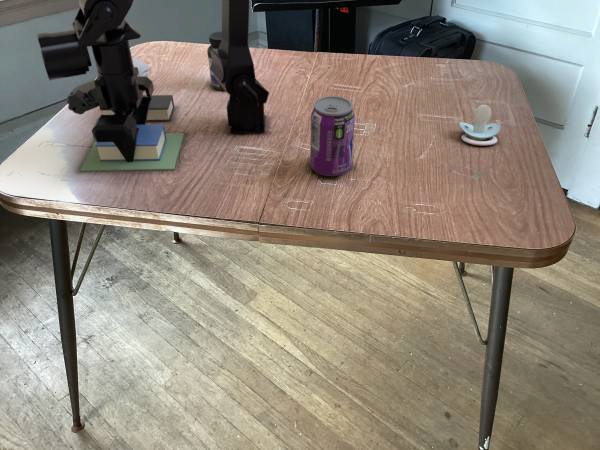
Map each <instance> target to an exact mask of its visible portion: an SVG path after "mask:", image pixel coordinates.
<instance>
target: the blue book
mask: <svg viewBox="0 0 600 450" xmlns="http://www.w3.org/2000/svg"><path fill="white" fill-rule="evenodd" d="M137 128H139V133H138V138H137V144H136V150H135V156H134V161H145V160H160V159H161V156H162V153H163V150H164V147H165V143H166V140H167V138H166V128H165V124H163V123H161V124H145V125H137ZM96 147H97V148H98V152H99V155H100V161H126V160H125V158H124V157H123V155H122V154H121V152H120V151H119V149H118V148H117V147H116V145H115V144H114V143H113V142H97V144H96Z"/></svg>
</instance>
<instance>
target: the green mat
mask: <svg viewBox="0 0 600 450" xmlns="http://www.w3.org/2000/svg"><path fill="white" fill-rule="evenodd" d="M165 133H166V132H165ZM184 136H185V133H184V132H171V133H170V132H169V133H168V132H167V133H166V138H167V140H166V143H165V147H164V150H163V153H162V156H161V159H160V160H145V161H133V162H127V161H100V155H99V152H98V148H97V147H96V144H97V142H96V141H94V143H93V145H92V146H91V148H90V150H89V152H88V154H87V156H86V158H85V160H84V161H83V164H82V166H81V167H80V172H123V171H124V172H125V171H127V172H129V171H130V172H131V171H174V170H175V169H176V165H177V161H178V158H179V154H180V150H181V147H182V143H183V140H184Z"/></svg>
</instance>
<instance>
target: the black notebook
mask: <svg viewBox="0 0 600 450" xmlns="http://www.w3.org/2000/svg"><path fill="white" fill-rule="evenodd" d="M143 97H148V96H147V95H146V94H145V95H144V94H143ZM151 98H152V99H151V103H150V107H149V111H148V115H147V120H146V122H171V120H172V117H173V114H174V110H175V102H174V96H173V94H156V95H155V94H154V95H153V94H152V96H151ZM101 113H102V115H114V114H115V113H112V111H111V109H108V110H101Z"/></svg>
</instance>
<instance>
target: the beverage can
mask: <svg viewBox="0 0 600 450" xmlns="http://www.w3.org/2000/svg"><path fill="white" fill-rule="evenodd" d="M355 122H356V113H355V111H354V104H353V102H352V101H351V100H350V99H348V98H346V97H343V96H340V95H327V96H322V97H319V98H318V99H316V100H315V101H314V103H313V109H312V110H311V113H310V151H309V152H310V158H309V159H310V160H309V161H310V162H309V165H310V168H311V169H312V171H314V172H315V173H317V174H318V175H323V176H327V177H328V176H329V177H337V176H341V175H344V174H347V173H348V172H349V171H350V170H351V168H352V165H353V151H354V136H355V124H356V123H355Z"/></svg>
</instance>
